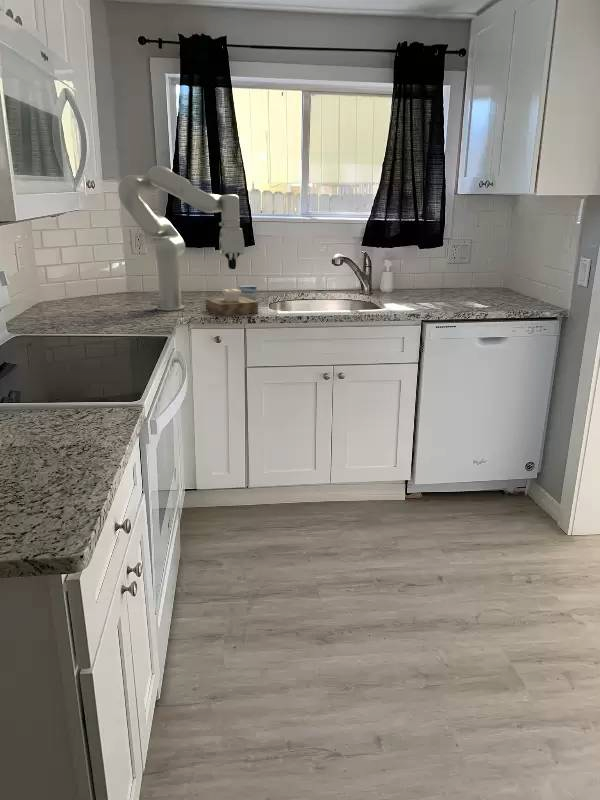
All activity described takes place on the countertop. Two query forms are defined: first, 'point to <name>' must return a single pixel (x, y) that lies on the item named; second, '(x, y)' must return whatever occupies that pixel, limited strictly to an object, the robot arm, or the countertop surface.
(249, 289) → the medicine box
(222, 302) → the wooden block
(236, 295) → the button
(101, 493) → the countertop surface
